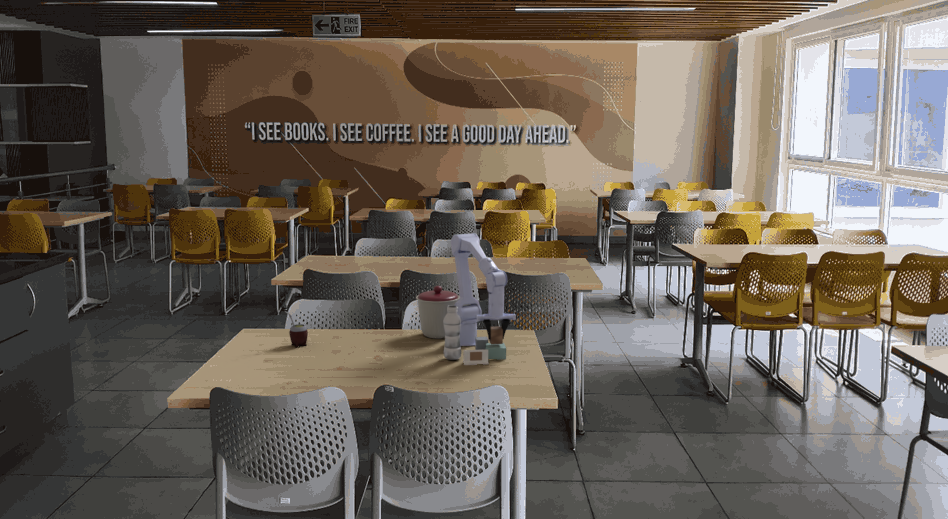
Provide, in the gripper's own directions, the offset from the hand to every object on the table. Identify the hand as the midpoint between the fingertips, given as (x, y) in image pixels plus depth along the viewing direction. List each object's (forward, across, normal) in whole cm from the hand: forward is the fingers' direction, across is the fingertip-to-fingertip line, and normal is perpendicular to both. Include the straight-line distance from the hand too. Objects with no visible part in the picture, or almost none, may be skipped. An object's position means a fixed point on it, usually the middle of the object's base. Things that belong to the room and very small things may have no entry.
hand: (495, 338), depth 267 cm
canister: (+7, -20, +32) cm, 38 cm away
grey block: (+7, -4, +6) cm, 10 cm away
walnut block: (+2, 0, 0) cm, 2 cm away
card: (+7, -8, -8) cm, 13 cm away
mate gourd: (+7, -76, +22) cm, 79 cm away
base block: (+7, 0, 0) cm, 7 cm away
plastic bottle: (+7, -16, -2) cm, 18 cm away
